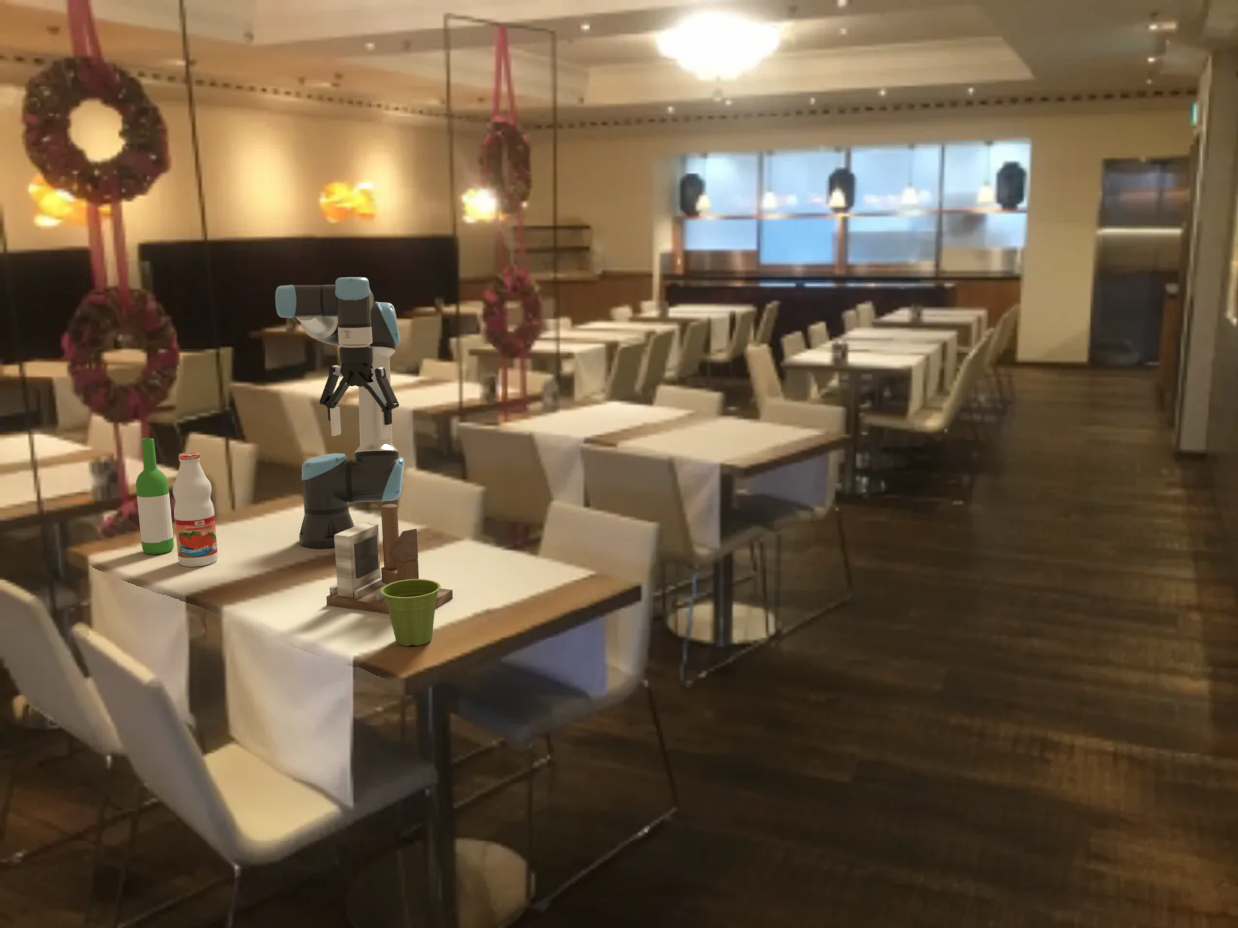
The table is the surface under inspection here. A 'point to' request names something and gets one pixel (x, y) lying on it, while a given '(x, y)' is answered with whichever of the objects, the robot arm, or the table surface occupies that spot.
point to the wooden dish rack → (363, 571)
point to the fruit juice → (194, 514)
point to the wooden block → (398, 548)
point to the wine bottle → (153, 504)
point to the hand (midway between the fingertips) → (360, 437)
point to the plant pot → (412, 609)
